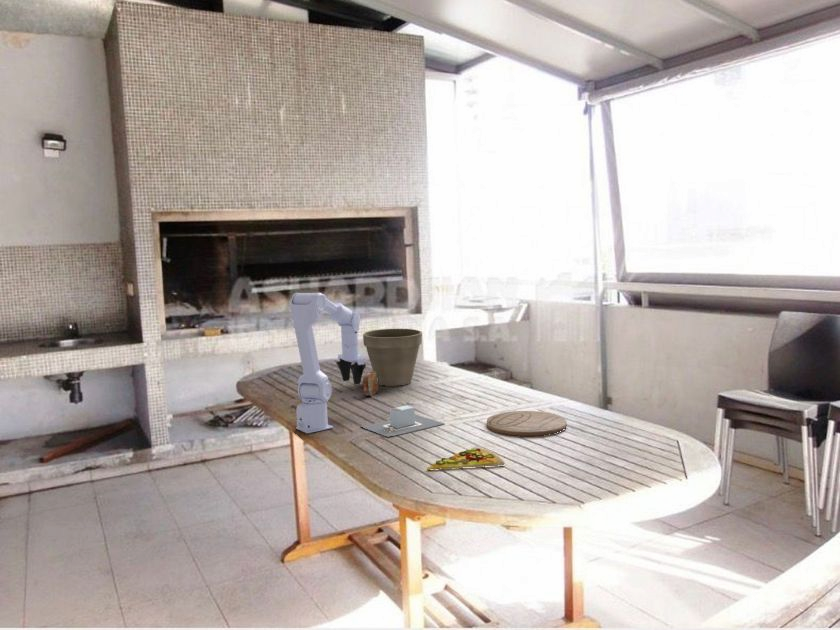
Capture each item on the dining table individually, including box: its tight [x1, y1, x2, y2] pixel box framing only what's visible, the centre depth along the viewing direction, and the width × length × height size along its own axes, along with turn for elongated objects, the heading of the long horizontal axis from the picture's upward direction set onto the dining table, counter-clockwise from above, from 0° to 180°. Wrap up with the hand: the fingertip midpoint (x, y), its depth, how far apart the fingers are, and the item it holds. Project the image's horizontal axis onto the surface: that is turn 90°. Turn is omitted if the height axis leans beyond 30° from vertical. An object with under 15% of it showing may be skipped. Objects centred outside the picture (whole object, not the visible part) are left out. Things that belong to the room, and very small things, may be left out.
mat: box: [360, 413, 445, 438], centre depth 217 cm, size 22×16×1 cm
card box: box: [389, 404, 416, 428], centre depth 216 cm, size 4×7×6 cm, turn 127°
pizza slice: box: [426, 446, 506, 471], centre depth 178 cm, size 16×21×3 cm
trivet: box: [486, 410, 568, 438], centre depth 212 cm, size 25×25×2 cm
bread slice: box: [362, 370, 380, 397], centre depth 264 cm, size 15×3×8 cm, turn 168°
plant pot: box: [362, 328, 423, 387], centre depth 282 cm, size 25×25×22 cm
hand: (351, 382), depth 237 cm, fingers open, 7 cm apart
